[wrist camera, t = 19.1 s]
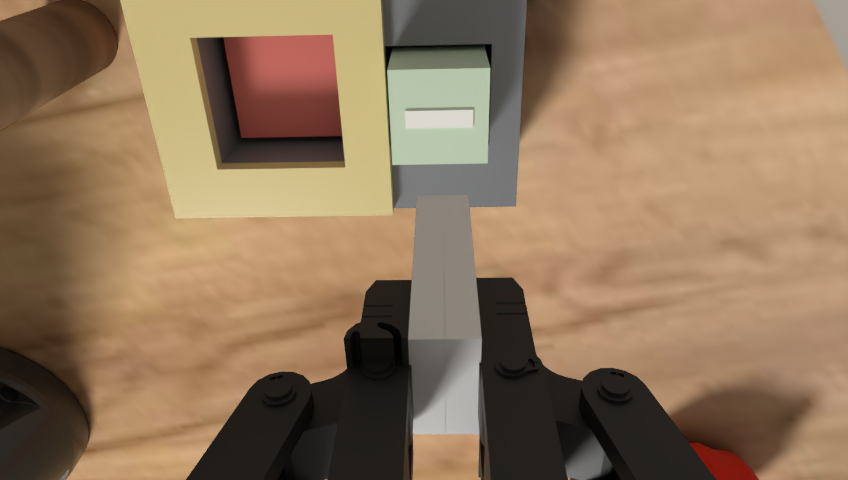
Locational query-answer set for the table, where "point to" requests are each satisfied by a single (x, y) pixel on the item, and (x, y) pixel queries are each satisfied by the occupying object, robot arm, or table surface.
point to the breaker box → (358, 99)
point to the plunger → (284, 85)
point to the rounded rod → (50, 54)
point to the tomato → (723, 464)
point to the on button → (439, 105)
